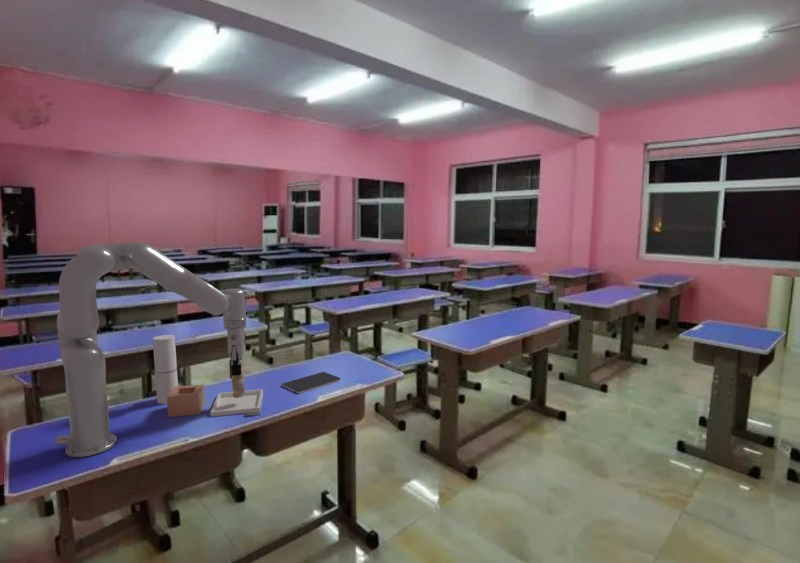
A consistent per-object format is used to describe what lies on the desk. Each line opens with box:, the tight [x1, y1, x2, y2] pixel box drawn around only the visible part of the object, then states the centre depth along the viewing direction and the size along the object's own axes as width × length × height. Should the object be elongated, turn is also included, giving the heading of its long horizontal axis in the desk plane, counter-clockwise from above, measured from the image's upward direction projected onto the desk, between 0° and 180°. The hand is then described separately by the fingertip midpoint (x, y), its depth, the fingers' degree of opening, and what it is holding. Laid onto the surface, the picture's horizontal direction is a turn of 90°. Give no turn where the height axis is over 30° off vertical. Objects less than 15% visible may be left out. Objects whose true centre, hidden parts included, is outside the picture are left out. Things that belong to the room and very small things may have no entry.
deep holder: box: [166, 384, 206, 418], centre depth 154 cm, size 10×10×8 cm
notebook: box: [281, 371, 341, 394], centre depth 184 cm, size 13×2×21 cm
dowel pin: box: [230, 359, 245, 398], centre depth 159 cm, size 4×4×13 cm
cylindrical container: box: [152, 334, 179, 405], centre depth 162 cm, size 7×7×25 cm
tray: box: [210, 388, 264, 417], centre depth 160 cm, size 16×18×2 cm
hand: (237, 372), depth 158 cm, fingers closed on dowel pin, 4 cm apart
